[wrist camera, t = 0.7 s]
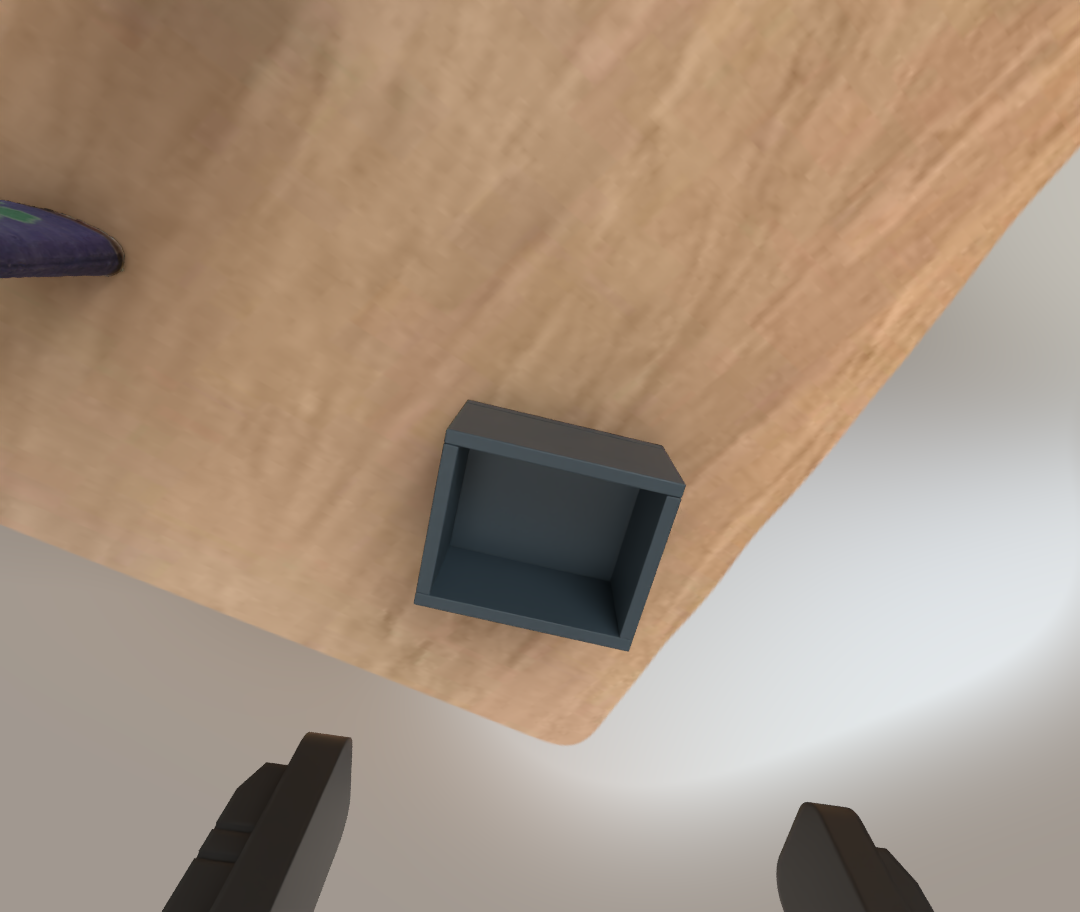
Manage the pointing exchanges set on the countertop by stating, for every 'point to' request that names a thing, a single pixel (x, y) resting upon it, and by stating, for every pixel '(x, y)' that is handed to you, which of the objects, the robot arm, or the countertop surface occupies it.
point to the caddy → (547, 525)
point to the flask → (53, 245)
